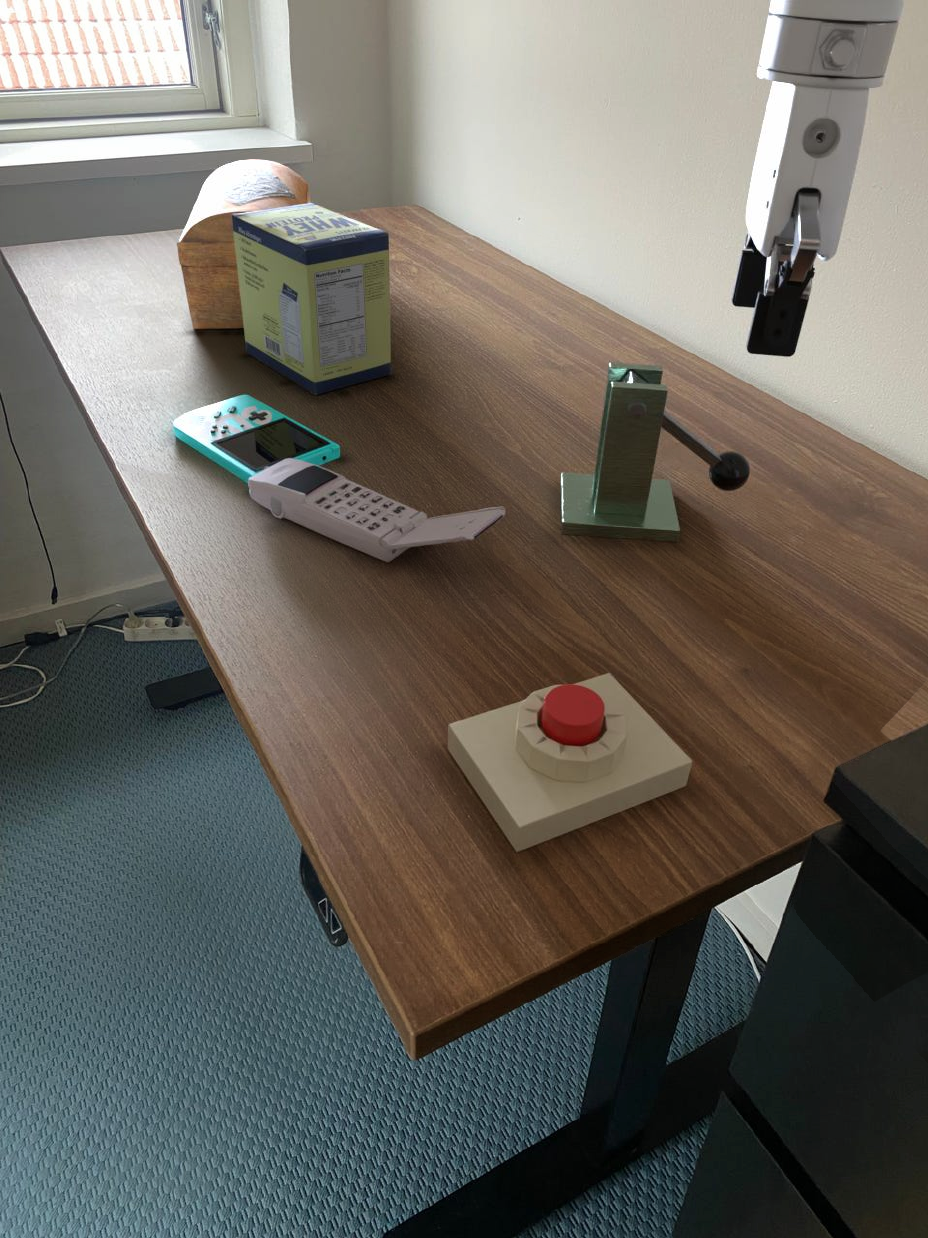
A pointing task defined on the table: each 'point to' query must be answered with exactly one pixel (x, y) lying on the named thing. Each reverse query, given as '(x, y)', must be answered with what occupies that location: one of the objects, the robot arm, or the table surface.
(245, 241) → the protein box
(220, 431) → the handheld game console
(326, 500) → the mobile phone
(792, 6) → the robot arm
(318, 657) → the table surface
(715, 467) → the lever
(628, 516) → the bracket
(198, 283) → the wooden box
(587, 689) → the button
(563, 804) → the button block
